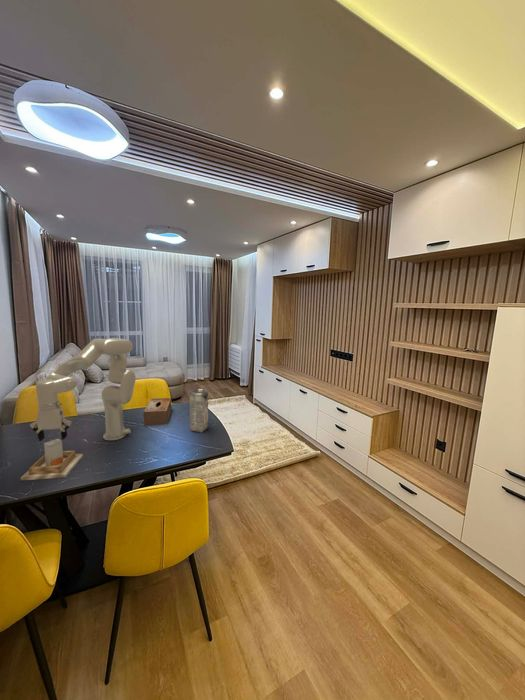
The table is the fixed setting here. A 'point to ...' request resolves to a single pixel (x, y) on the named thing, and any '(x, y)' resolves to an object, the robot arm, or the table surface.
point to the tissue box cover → (157, 411)
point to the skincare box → (53, 452)
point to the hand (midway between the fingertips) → (53, 438)
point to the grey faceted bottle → (198, 410)
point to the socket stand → (52, 467)
